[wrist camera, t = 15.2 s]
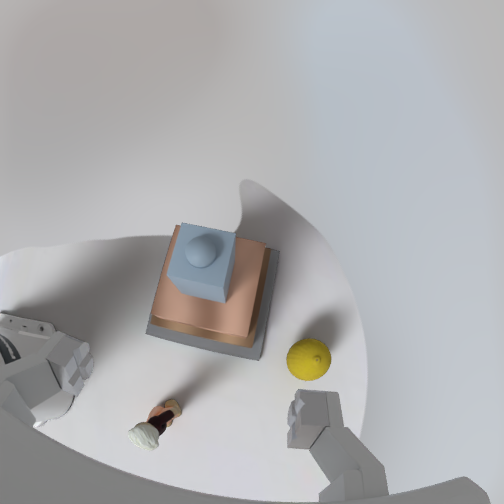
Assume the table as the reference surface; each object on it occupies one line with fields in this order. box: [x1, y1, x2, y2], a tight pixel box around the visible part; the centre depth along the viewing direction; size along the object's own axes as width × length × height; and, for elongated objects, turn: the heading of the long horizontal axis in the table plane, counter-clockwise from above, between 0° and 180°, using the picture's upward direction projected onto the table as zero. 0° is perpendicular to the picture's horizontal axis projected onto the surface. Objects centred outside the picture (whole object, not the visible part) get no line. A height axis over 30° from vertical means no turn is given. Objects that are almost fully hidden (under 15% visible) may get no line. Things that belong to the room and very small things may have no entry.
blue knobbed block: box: [167, 223, 236, 303], centre depth 28 cm, size 5×5×9 cm
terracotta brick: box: [150, 225, 271, 348], centre depth 36 cm, size 13×13×8 cm
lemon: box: [287, 338, 331, 381], centre depth 35 cm, size 6×6×8 cm
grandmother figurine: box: [128, 399, 182, 450], centre depth 29 cm, size 8×4×13 cm, turn 148°
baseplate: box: [146, 239, 280, 361], centre depth 40 cm, size 16×16×1 cm
